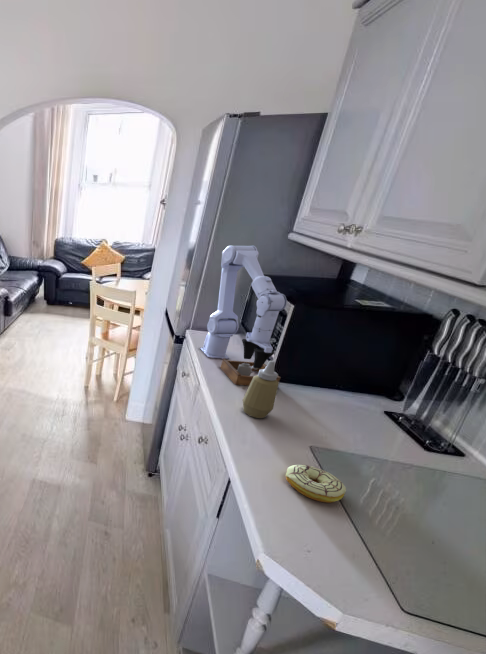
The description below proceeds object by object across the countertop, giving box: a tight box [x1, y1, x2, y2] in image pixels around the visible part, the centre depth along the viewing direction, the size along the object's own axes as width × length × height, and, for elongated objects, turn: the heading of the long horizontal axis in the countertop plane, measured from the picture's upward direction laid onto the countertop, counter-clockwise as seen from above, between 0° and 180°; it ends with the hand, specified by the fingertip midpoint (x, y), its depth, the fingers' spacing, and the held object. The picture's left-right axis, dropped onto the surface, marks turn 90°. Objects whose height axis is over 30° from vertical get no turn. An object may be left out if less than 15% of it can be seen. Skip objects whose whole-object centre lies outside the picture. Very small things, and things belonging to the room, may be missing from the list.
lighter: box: [237, 363, 258, 376], centre depth 143 cm, size 7×2×8 cm, turn 61°
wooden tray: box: [219, 358, 281, 387], centre depth 143 cm, size 14×14×4 cm
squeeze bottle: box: [242, 360, 280, 419], centre depth 118 cm, size 8×8×18 cm
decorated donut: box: [285, 464, 347, 503], centre depth 92 cm, size 10×11×4 cm
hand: (251, 363), depth 142 cm, fingers open, 7 cm apart
